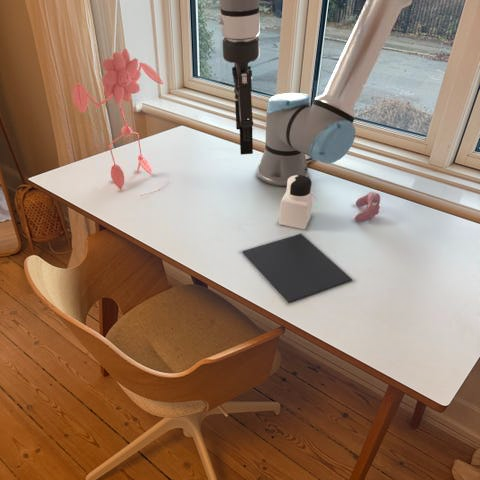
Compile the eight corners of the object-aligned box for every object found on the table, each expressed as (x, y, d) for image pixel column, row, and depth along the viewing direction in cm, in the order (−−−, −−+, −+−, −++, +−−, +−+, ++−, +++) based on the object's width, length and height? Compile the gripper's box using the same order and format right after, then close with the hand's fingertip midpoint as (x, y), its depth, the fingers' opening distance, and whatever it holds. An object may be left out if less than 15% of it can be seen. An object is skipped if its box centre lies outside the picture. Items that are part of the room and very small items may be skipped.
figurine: (87, 191, 134) (56, 55, 110) (156, 162, 148) (142, 37, 124) (119, 210, 127) (94, 69, 103) (189, 178, 141) (181, 48, 117)
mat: (300, 235, 120) (300, 233, 119) (351, 280, 106) (352, 279, 106) (242, 252, 114) (242, 250, 113) (288, 303, 100) (288, 301, 100)
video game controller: (367, 229, 125) (384, 209, 120) (353, 220, 124) (369, 200, 119) (367, 210, 132) (383, 191, 127) (353, 202, 131) (370, 183, 126)
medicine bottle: (311, 216, 126) (316, 174, 118) (305, 230, 121) (310, 187, 113) (285, 211, 128) (289, 170, 120) (278, 224, 123) (282, 182, 115)
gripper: (219, 23, 103) (225, 120, 118) (225, 57, 85) (231, 166, 100) (253, 20, 103) (255, 118, 118) (266, 54, 85) (266, 164, 100)
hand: (244, 140), depth 109 cm, fingers open, 13 cm apart
